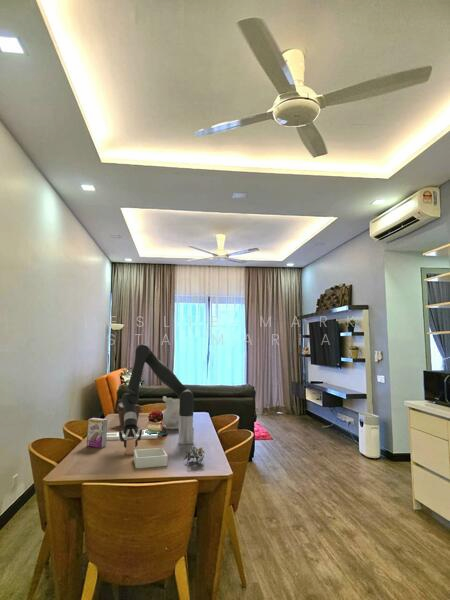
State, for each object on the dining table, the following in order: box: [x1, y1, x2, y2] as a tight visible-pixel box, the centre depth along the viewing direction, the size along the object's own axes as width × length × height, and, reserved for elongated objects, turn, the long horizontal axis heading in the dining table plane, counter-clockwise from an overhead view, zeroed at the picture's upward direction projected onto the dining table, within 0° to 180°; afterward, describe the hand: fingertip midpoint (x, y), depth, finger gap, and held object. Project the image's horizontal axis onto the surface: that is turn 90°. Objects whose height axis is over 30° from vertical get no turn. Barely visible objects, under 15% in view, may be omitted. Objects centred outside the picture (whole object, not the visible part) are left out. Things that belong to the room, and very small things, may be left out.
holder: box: [106, 429, 158, 441], centre depth 253 cm, size 45×18×3 cm, turn 101°
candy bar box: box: [86, 417, 108, 449], centre depth 227 cm, size 11×5×16 cm, turn 71°
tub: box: [125, 438, 136, 456], centre depth 213 cm, size 5×5×8 cm
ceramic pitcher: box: [161, 395, 180, 430], centre depth 285 cm, size 22×20×25 cm
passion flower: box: [183, 444, 205, 466], centre depth 195 cm, size 11×11×12 cm
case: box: [116, 401, 143, 428], centre depth 289 cm, size 18×20×18 cm
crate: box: [133, 447, 169, 469], centre depth 196 cm, size 16×16×5 cm
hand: (130, 446), depth 211 cm, fingers closed on tub, 5 cm apart
